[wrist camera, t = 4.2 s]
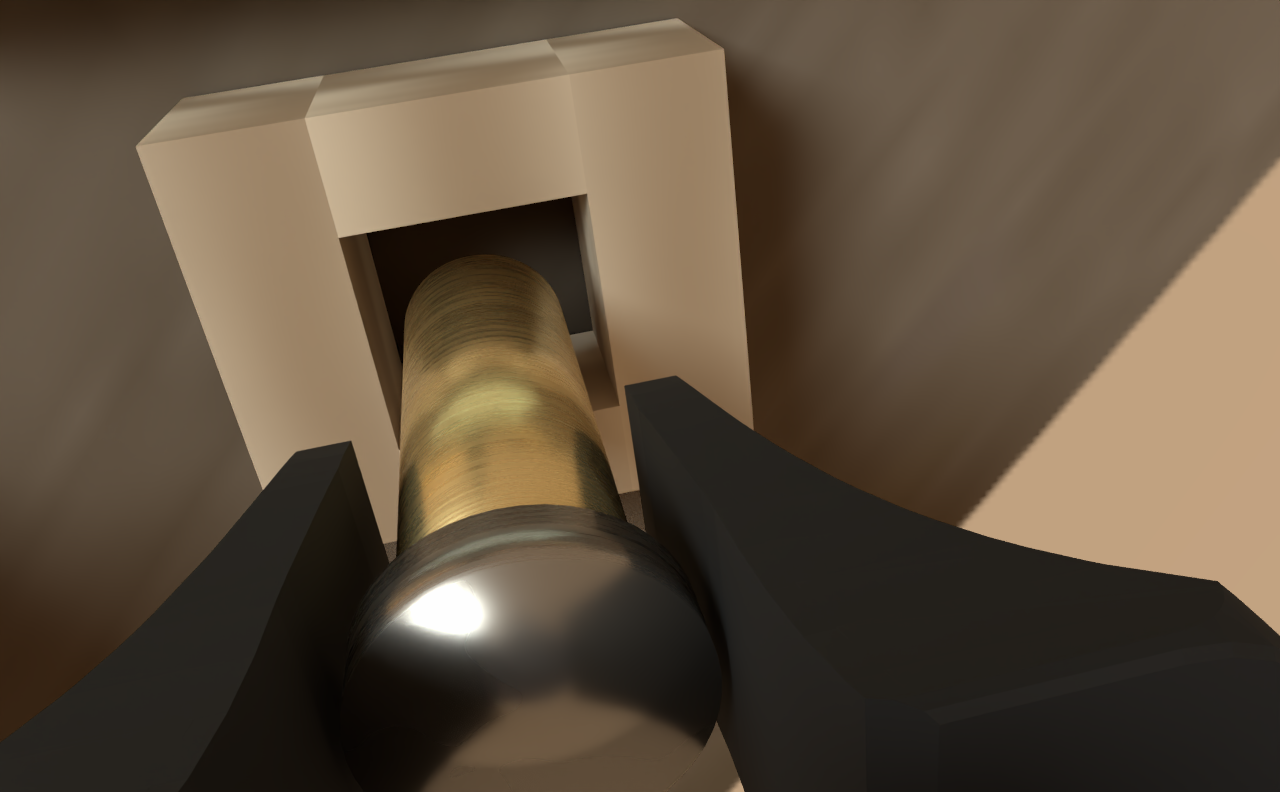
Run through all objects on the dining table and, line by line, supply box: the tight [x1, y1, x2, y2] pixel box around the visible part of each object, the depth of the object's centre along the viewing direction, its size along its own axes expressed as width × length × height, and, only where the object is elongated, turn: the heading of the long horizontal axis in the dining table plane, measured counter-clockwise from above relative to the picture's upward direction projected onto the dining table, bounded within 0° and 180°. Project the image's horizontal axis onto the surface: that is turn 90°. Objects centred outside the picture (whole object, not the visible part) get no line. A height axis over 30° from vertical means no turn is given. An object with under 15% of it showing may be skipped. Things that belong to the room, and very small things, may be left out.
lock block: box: [136, 18, 754, 544], centre depth 17 cm, size 8×7×3 cm
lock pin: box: [339, 254, 722, 792], centre depth 12 cm, size 3×3×8 cm
